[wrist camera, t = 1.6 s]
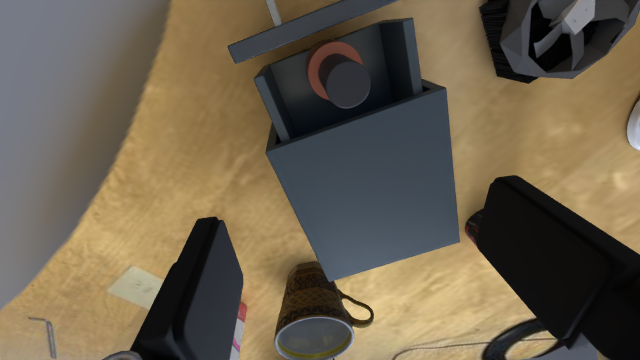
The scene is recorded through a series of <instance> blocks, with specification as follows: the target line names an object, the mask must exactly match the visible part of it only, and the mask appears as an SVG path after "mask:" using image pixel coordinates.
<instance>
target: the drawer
mask: <svg viewBox="0 0 640 360" xmlns="http://www.w3.org/2000/svg"><path fill="white" fill-rule="evenodd" d="M265 1H266V4H267V6H268V9H269V12H270V15H271V17H272V20H273V23H274V25H275V27H274V28H271V29H269V30H266V31H264V32H261V33H259V34H256V35H254V36H251V37H249V38H246V39H243V40H241V41H238V42H236V43H233V44H231V45H228V49H229V52H230V54H231V56H232V58H233V60H234V62H235V64H237V63H240V62H242V61H245V60H247V59H250V58H252V57H255V56H257V55H260V54H263V53H265V52H268V51H270V50H273V49H275V48H278V47H280V46H283V45H286V44H288V43H291V42H293V41H296V40H298V39H301V38H303V37H306V36H309V35H311V34H314V33H316V32H319V31H321V30H324V29H327V28H329V27H332V26H334V25H337V24H339V23H342V22H344V21H347V20H350V19H352V18H355V17H357V16H360V15H362V14H365V13H367V12H370V11H373V10H375V9H378V8H380V7H383V6H385V5H388V4H390V3H393V2H396V1H398V0H341V1H339V2H336V3H334V4H331V5H329V6H326V7H324V8H321V9H319V10H316V11H314V12H311V13H309V14H306V15H304V16H301V17H299V18H296V19H294V20H291V21H289V22H286V23H284V24H283V23H282V21H281V18H280V15H279V12H278V9H277V6H276V4H275V1H274V0H265ZM334 40H336V41H340V42H344V43H346V44H349V45H350V46H352V47H353V48H354V49H355V50H356V51H357V52H358V54H359V56H360V58H361V60H362V64H363V66H364V67H365V68H366V70H367V71H368V73H369V76H370V81H371V85H370V90H369V93H368V95H367V97H366V98H365V99H364V101H363V102H362V103H360V104H359V105H357V106H355V107H352V108H341V107H338V106H336V105H335V104H333V103H332V102H331V101H330V100H326V99H324V98H322V97H320V96H319V95H318V94H317V93H316V92H315V91H314V90H313V88H312V87H311V84H310V82H309V79H308V76H307V72H306V59H307V56H308V53H309V51H310V50H311V49H312V48H310V49H308V50H305V51H303V52H300V53H298V54H295V55H292V56H290V57H287V58H285V59H282V60H279V61H277V62H274V63H272V64H269V65H266V66H264V67H262V69H261V70H260V71H259V72H258V74H257V75H256V76H255V78H254V82H255V84H256V86H257V88H258V91H259V93H260V95H261V97H262V100H263V102H264V104H265V106H266V109H267V111H268V113H269V115H270V118H271V120H272V122H273V124H274V127H275V129H276V131H277V133H278V136H279V138H280V140H281V142H282V143H283V142H286V141H289V140H292V139H294V138H297V137H300V136H303V135H306V134H308V133H311V132H314V131H317V130H320V129H322V128H325V127H328V126H331V125H333V124H336V123H339V122H342V121H345V120H347V119H350V118H353V117H356V116H359V115H361V114H364V113H367V112H370V111H373V110H375V109H378V108H381V107H384V106H387V105H389V104H392V103H395V102H398V101H401V100H403V99H406V98H409V97H412V96H415V95H417V94H420V93H423V89H422V82H421V74H420V67H419V59H418V52H417V44H416V37H415V29H414V22H413V18H404V19H393V20H383V21H380V22H378V23H375V24H373V25H370V26H367V27H365V28H362V29H360V30H357V31H354V32H352V33H349V34H347V35H344V36H342V37H339V38H336V39H334Z"/></svg>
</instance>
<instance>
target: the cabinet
mask: <svg viewBox="0 0 640 360" xmlns="http://www.w3.org/2000/svg"><path fill="white" fill-rule="evenodd" d="M421 82H422V89H423V93H420V94H417V95H415V96H412V97H409V98H406V99H403V100H401V101H398V102H395V103H392V104H389V105H387V106H384V107H381V108H378V109H375V110H373V111H370V112H367V113H364V114H361V115H359V116H356V117H353V118H350V119H347V120H345V121H342V122H339V123H336V124H333V125H331V126H328V127H325V128H322V129H320V130H317V131H314V132H311V133H308V134H306V135H303V136H300V137H297V138H294V139H292V140H289V141H286V142H283V143H282V142H281V140H280V138H279V136H278V133H277V131H276V129H275V127H274V124H273V122H272V125H271V129H270V134H269V139H268V143H267V148H266V155H267V157H268V159H269V161H270V163H271V165H272V167H273V169H274V171H275V173H276V175H277V177H278V179H279V181H280V183H281V185H282V187H283V189H284V191H285V193H286V195H287V197H288V200H289V202H290V204H291V206H292V208H293V210H294V212H295V214H296V216H297V218H298V220H299V222H300V224H301V226H302V228H303V230H304V232H305V234H306V236H307V238H308V240H309V242H310V244H311V247H312V249H313V251H314V253H315V255H316V257H317V259H318V261H319V263H320V265H321V267H322V269H323V271H324V273H325V275H326V277H327V279H328V281H329V282H331V281H334V280H337V279H340V278H344V277H347V276H350V275H353V274H357V273H360V272H363V271H367V270H370V269H373V268H376V267H380V266H383V265H386V264H390V263H393V262H396V261H399V260H403V259H406V258H409V257H412V256H416V255H419V254H422V253H426V252H429V251H432V250H435V249H439V248H442V247H445V246H449V245H452V244H455V243H458V242H460V238H459V227H458V216H457V204H456V193H455V182H454V170H453V159H452V148H451V137H450V125H449V114H448V103H447V91H446V88H445V87H443V86H439V85H437V84H434V83H432V82H429V81H427V80H424V79H421Z"/></svg>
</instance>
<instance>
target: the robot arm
mask: <svg viewBox="0 0 640 360" xmlns="http://www.w3.org/2000/svg"><path fill="white" fill-rule="evenodd" d="M627 136H628V140H629V142H630V144H631V145H632V146H633V147H634V148H635V149H637V150H639V151H640V99H639V100H638V102H637V103H636V105H635V107H634V109H633V111H632V113H631V115H630V118H629V121H628V126H627ZM476 245H477V248H478V249H479V251H480V252H481V253H482V254H483V255H484V256H485V258H486V259H487V260H488V261H489V262H490V263H491V265H492V266H493V267H494V268H495V269H496V270H497V272H498V273H499V274H500V275H501V276H502V277H503V279H504V280H505V281H506V282H507V283H508V284H509V286H510V287H511V288H512V289H513V290H514V291H515V293H516V294H517V295H518V296H519V297H520V298H521V300H522V301H523V302H524V303H525V304H526V305H527V307H528V308H529V309H530V310H531V311H532V313H533V314H534V315H535V316H536V317H537V318H538V320H539V321H540V322H541V323H542V324H543V325H544V327H545V328H546V329H547V330H548V331H549V332H550V333H551V334H552V335H553V336H554V337H555V338H558V339H560V340H561V341H562V343H563V344H564V345H565V346H566V347H567V348H568V350H572V349H578V348H585V347H588V345H589V344H590V343H591V344H592V345H593V346H594V347H595V348H596V349H597V353H598V360H640V255H639V254H638V253H636V252H635V251H633V250H632V249H630V248H629V247H627V246H625V245H624V244H622V243H621V242H619V241H618V240H616V239H615V238H613V237H612V236H610V235H608V234H607V233H605V232H604V231H602V230H601V229H599V228H598V227H596V226H595V225H593V224H591V223H590V222H588V221H587V220H585V219H584V218H582V217H581V216H579V215H578V214H576V213H574V212H573V211H571V210H570V209H568V208H567V207H565V206H564V205H562V204H561V203H559V202H557V201H556V200H554V199H553V198H551V197H550V196H548V195H547V194H545V193H544V192H542V191H540V190H539V189H537V188H536V187H534V186H533V185H531V184H530V183H528V182H526V181H525V180H523V179H522V178H520V177H519V176H516V175H512V176H504V177H498V178H496V179H495V180H494V182H493V183H491V184H490V187H489V191H488V194H487V198H486V202H485V206H484V210H483V214H482V217H481V221H480V225H479V229H478V233H477V237H476ZM242 289H243V274H242V271H241V268H240V265H239V262H238V259H237V257H236V254H235V251H234V248H233V245H232V242H231V240H230V237H229V234H228V231H227V228H226V226H225V223H224V221H223V220H218V218H217V217H208V218H201V219H198V220H197V221H196V223H195V225H194V227H193V229H192V231H191V233H190V235H189V237H188V239H187V241H186V244H185V246H184V248H183V250H182V252H181V254H180V256H179V258H178V260H177V262H175V263H174V264H173V265H172V267H171V268H170V270H169V272H168V274H167V276H166V278H165V280H164V282H163V284H162V286H161V288H160V290H159V292H158V294H157V296H156V298H155V300H154V302H153V304H152V306H151V308H150V310H149V312H148V314H147V316H146V318H145V320H144V322H143V324H142V326H141V329H140V331H139V333H138V335H137V337H136V339H135V341H134V343H133V345H132V347H131V349H130V351H120V352H117V353H115V354H112V355H109V356H108V357H106V358H104V359H103V360H230V355H231V350H232V344H233V339H234V333H235V327H236V322H237V316H238V311H239V305H240V300H241V294H242Z"/></svg>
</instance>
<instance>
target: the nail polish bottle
mask: <svg viewBox="0 0 640 360" xmlns="http://www.w3.org/2000/svg"><path fill="white" fill-rule="evenodd" d="M306 72H307V76H308V79H309V82H310V84H311V87H312V88H313V90H314V91H315V92H316V93H317V94H318V95H319V96H320V97H322V98H324V99H326V100H330V101H331V102H332V103H333V104H335V105H336V106H338V107H341V108H352V107H355V106H357V105H359V104H360V103H362V102H363V101H364V99H365V98H366V97H367V95H368V93H369V90H370V85H371V81H370V76H369V73H368V71H367V70H366V68H365V67H364V66H363V64H362V60H361V58H360V56H359V54H358V52H357V51H356V50H355V49H354V48H353V47H352V46H350V45H349V44H346V43H344V42H340V41H336V40H331V39H328V40H323V41H320V42H318V43H317V44H316V45H314V46H313V47H312V49H311V50H310V51H309V53H308V56H307V59H306Z"/></svg>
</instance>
